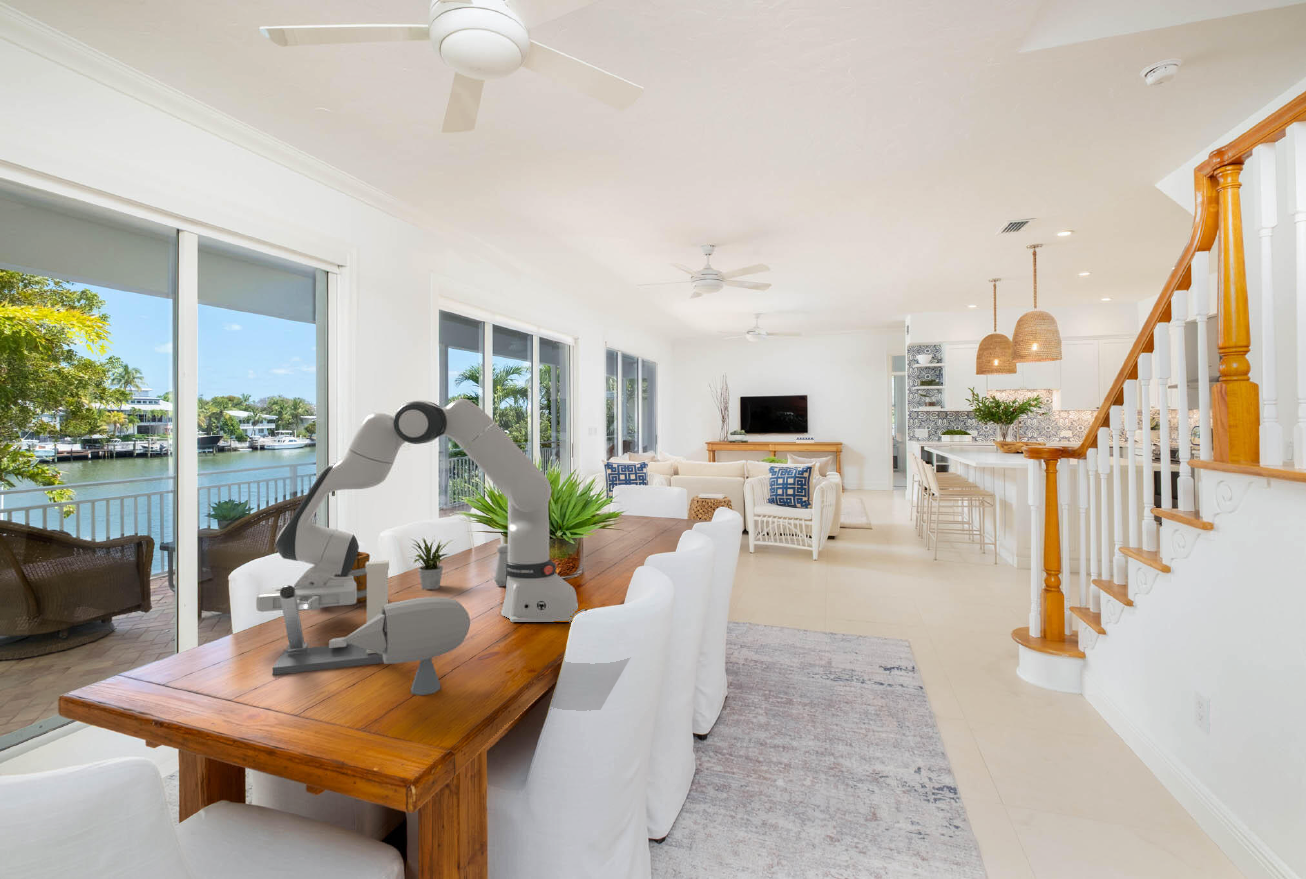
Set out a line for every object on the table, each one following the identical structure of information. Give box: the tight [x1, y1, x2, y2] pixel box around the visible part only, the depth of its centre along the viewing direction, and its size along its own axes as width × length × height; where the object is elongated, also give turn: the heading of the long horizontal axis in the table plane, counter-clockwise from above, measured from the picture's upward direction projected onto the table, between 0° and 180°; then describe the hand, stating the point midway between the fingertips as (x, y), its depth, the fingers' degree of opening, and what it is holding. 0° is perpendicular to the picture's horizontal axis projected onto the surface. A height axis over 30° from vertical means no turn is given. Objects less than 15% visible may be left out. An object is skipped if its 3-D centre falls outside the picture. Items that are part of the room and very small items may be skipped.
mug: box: [348, 550, 371, 604], centre depth 171 cm, size 11×16×15 cm, turn 142°
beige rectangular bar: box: [366, 560, 390, 653], centre depth 129 cm, size 2×4×19 cm, turn 109°
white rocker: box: [328, 636, 350, 648], centre depth 131 cm, size 5×3×1 cm, turn 20°
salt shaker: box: [493, 543, 508, 587], centre depth 190 cm, size 6×6×13 cm
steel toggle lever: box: [280, 585, 309, 653], centre depth 124 cm, size 3×4×19 cm
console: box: [272, 643, 385, 676], centre depth 129 cm, size 10×22×2 cm, turn 110°
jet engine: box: [341, 596, 471, 696], centre depth 114 cm, size 15×20×18 cm
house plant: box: [408, 536, 453, 590], centre depth 186 cm, size 14×14×16 cm
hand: (302, 606), depth 132 cm, fingers closed
